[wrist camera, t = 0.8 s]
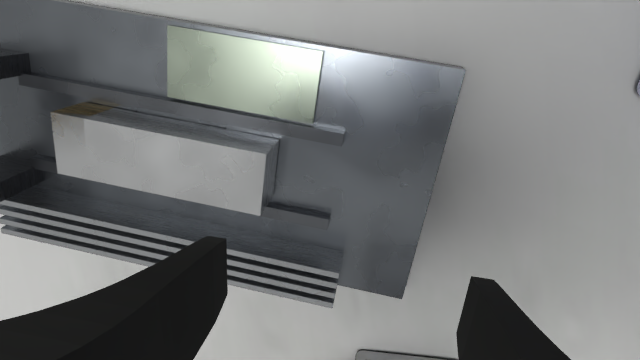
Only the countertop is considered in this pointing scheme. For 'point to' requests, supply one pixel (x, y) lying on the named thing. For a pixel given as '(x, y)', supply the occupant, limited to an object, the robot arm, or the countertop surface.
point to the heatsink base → (237, 115)
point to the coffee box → (387, 356)
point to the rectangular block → (166, 156)
